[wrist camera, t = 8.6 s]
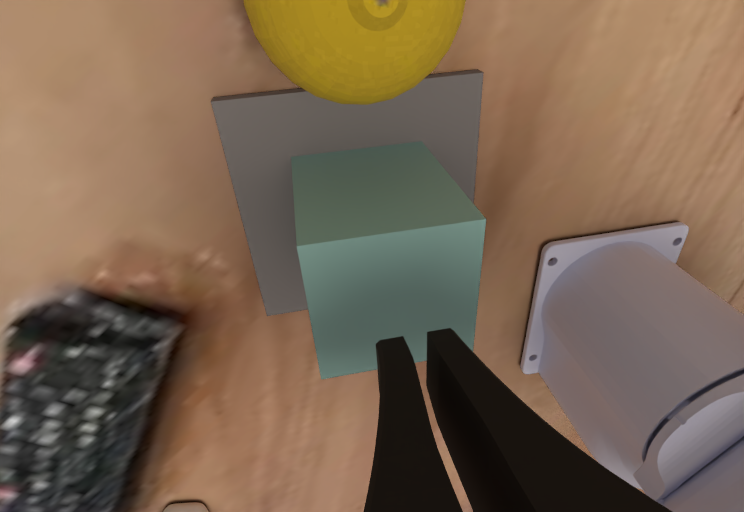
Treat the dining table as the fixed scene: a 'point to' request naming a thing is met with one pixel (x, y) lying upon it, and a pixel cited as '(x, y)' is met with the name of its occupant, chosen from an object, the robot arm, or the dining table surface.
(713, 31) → the dining table surface
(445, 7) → the lemon
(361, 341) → the upright teal cuboid
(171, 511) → the eye dropper bottle
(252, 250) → the base
